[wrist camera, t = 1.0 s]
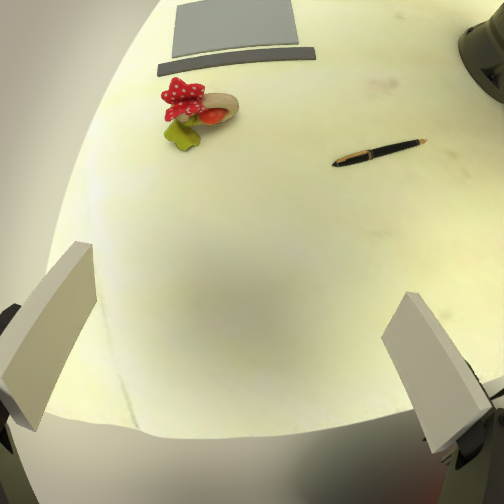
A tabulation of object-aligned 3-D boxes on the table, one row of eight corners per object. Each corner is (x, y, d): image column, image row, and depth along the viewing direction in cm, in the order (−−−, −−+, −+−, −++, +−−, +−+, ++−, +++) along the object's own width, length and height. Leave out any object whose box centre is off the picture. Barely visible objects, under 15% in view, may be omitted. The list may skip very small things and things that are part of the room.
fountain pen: (424, 137, 34) (429, 133, 33) (427, 145, 34) (432, 142, 33) (329, 162, 35) (331, 158, 34) (332, 171, 35) (334, 167, 34)
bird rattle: (220, 105, 38) (154, 114, 35) (243, 55, 28) (158, 61, 25) (231, 144, 38) (162, 156, 35) (259, 101, 28) (167, 111, 25)
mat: (301, -7, 35) (301, -9, 34) (315, 59, 35) (316, 57, 34) (166, 9, 37) (165, 8, 36) (158, 76, 37) (157, 75, 36)
